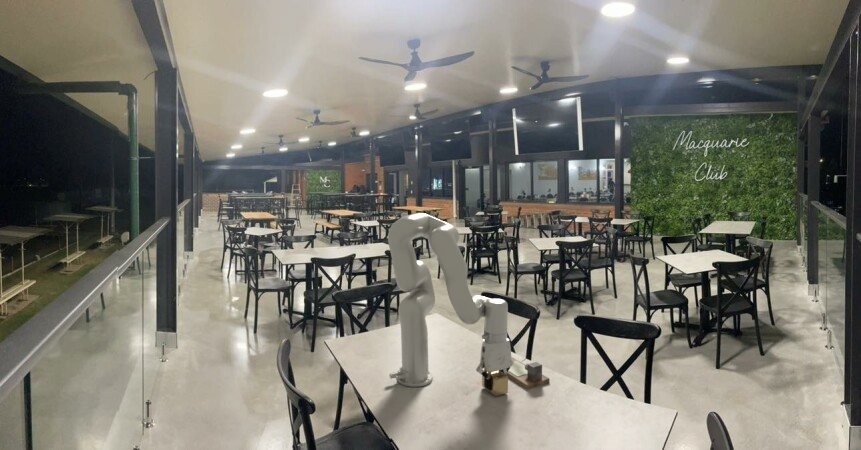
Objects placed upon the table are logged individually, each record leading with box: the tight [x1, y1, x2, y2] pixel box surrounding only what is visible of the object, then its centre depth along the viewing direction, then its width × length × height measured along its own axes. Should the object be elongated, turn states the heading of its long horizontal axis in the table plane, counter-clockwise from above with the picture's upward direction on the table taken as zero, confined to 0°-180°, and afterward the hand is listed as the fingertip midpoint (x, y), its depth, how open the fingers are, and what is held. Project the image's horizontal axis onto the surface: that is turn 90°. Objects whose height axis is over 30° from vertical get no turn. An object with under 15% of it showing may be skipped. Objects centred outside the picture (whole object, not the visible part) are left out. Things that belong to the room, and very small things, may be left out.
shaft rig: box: [507, 356, 550, 390], centre depth 174 cm, size 10×24×7 cm, turn 27°
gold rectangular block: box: [481, 368, 509, 397], centre depth 161 cm, size 5×8×6 cm, turn 28°
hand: (494, 386), depth 161 cm, fingers closed on gold rectangular block, 5 cm apart
